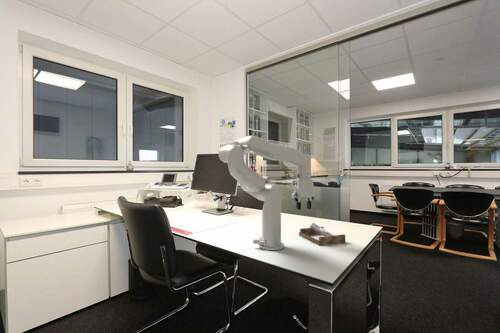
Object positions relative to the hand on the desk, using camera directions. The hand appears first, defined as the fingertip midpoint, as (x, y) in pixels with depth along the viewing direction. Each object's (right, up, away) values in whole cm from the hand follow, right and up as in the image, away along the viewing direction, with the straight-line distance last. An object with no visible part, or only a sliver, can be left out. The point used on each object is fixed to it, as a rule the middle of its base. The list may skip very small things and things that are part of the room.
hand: (303, 208), depth 126 cm
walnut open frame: (+11, -18, +4) cm, 21 cm away
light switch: (+12, -18, +4) cm, 22 cm away
